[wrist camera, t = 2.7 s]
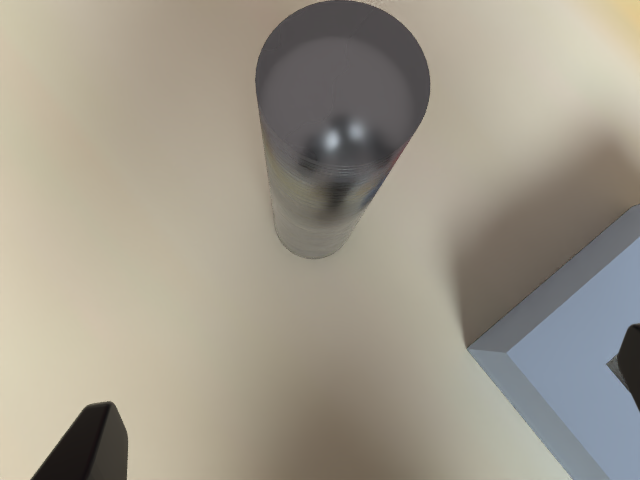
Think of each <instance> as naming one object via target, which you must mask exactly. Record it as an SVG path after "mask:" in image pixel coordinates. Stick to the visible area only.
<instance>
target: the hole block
mask: <svg viewBox="0 0 640 480" xmlns="http://www.w3.org/2000/svg"><path fill="white" fill-rule="evenodd" d="M636 323H640V204H638V205H635V206H633V207H631V208H630V209H629V210H628V211H626V212H625V213H624V214H623V215H622V216H621V217H619V218H618V219H617V220H616V221H615V222H614V223H612V224H611V225H610V226H609V227H608V228H607V229H605V230H604V231H603V232H602V233H601V234H600V235H598V236H597V237H596V238H595V239H594V240H593V241H591V242H590V243H589V244H588V245H587V246H586V247H584V248H583V249H582V250H581V251H580V252H579V253H577V254H576V255H575V256H574V257H573V258H572V259H570V260H569V261H568V262H567V263H566V264H565V265H563V266H562V267H561V268H560V269H559V270H558V271H556V272H555V273H554V274H553V275H552V276H551V277H549V278H548V279H547V280H546V281H545V282H544V283H542V284H541V285H540V286H539V287H538V288H537V289H535V290H534V291H533V292H532V293H531V294H530V295H528V296H527V297H526V298H525V299H524V300H523V301H521V302H520V303H519V304H518V305H517V306H516V307H514V308H513V309H512V310H511V311H510V312H509V313H507V314H506V315H505V316H504V317H503V318H502V319H501V320H499V321H498V322H497V323H496V324H495V325H494V326H492V327H491V328H490V329H489V330H488V331H487V332H485V333H484V334H483V335H482V336H481V337H480V338H478V339H477V340H476V341H475V342H474V343H473V344H471V345H470V346H469V347H468V348H467V350H468V351H469V352H470V354H471V355H472V356H473V357H474V359H475V360H476V361H477V362H478V363H479V365H480V366H481V367H482V368H483V370H484V371H485V372H486V373H487V375H488V376H489V377H490V378H491V379H492V381H493V382H494V383H495V384H496V386H497V387H498V388H499V389H500V390H501V392H502V393H503V394H504V395H505V397H506V398H507V399H508V400H509V401H510V403H511V404H512V405H513V406H514V408H515V409H516V410H517V411H518V413H519V414H520V415H521V416H522V417H523V419H524V420H525V421H526V422H527V424H528V425H529V426H530V427H531V428H532V430H533V431H534V432H535V433H536V435H537V436H538V437H539V438H540V439H541V441H542V442H543V443H544V444H545V446H546V447H547V448H548V449H549V451H550V452H551V453H552V454H553V455H554V457H555V458H556V459H557V460H558V462H559V463H560V464H561V465H562V466H563V468H564V469H565V470H566V471H567V473H568V474H569V475H570V476H571V477H572V479H573V480H640V412H639V410H638V408H637V406H636V404H635V402H634V399H633V397H632V395H631V393H630V392H629V391H628V390H627V389H626V387H625V386H624V385H623V384H622V383H621V382H620V380H619V379H618V378H617V377H616V376H615V374H614V373H613V372H612V371H611V370H610V368H609V367H608V366H607V365H606V364H607V363H608V362H609V361H610V360H611V359H612V358H613V357H614V356H615V355H616V354H618V352H619V349H620V347H621V344H622V341H623V339H624V336H625V333H626V331H627V329H628V327H629V326H630V325H632V324H636Z"/></svg>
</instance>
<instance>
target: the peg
mask: <svg viewBox="0 0 640 480" xmlns="http://www.w3.org/2000/svg"><path fill="white" fill-rule="evenodd" d="M255 83H256V94H257V101H258V108H259V115H260V122H261V130H262V137H263V144H264V151H265V158H266V165H267V172H268V179H269V186H270V193H271V200H272V207H273V214H274V221H275V228H276V232H277V235H278V237H279V239H280V241H281V242H282V243H283V245H284V246H285V247H286V248H287V249H288V250H289V251H291V252H292V253H294V254H296V255H298V256H300V257H303V258H309V259H318V258H323V257H327V256H329V255H331V254H333V253H335V252H336V251H337V250H339V249H340V248H341V247H342V246H343V244H344V243H345V242H346V240H347V238H348V237H349V235H350V234H351V232H352V231H353V229H354V227H355V226H356V224H357V223H358V221H359V219H360V218H361V216H362V215H363V213H364V212H365V210H366V208H367V207H368V205H369V204H370V202H371V201H372V199H373V197H374V196H375V194H376V193H377V191H378V189H379V188H380V186H381V185H382V183H383V182H384V180H385V178H386V177H387V175H388V174H389V172H390V171H391V169H392V167H393V166H394V164H395V163H396V161H397V159H398V158H399V156H400V155H401V153H402V152H403V150H404V148H405V147H406V145H407V144H408V142H409V141H410V139H411V137H412V136H413V134H414V133H415V131H416V129H417V128H418V126H419V125H420V123H421V121H422V119H423V117H424V115H425V112H426V109H427V106H428V102H429V95H430V76H429V69H428V65H427V61H426V59H425V56H424V54H423V51H422V49H421V47H420V46H419V44H418V42H417V40H416V39H415V38H414V36H413V35H412V34H411V32H410V31H409V30H408V29H407V28H406V27H405V26H404V25H403V24H402V23H401V22H399V21H398V20H397V19H396V18H394V17H393V16H391V15H390V14H388V13H386V12H385V11H383V10H381V9H379V8H376V7H374V6H371V5H368V4H365V3H361V2H356V1H348V0H331V1H325V2H319V3H316V4H312V5H309V6H307V7H304V8H302V9H300V10H298V11H296V12H295V13H293V14H291V15H290V16H288V17H287V18H286V19H285V20H283V21H282V22H281V23H280V24H279V25H278V26H277V27H276V28H275V29H274V30H273V32H272V33H271V34H270V36H269V37H268V39H267V40H266V42H265V44H264V46H263V48H262V50H261V53H260V56H259V58H258V63H257V68H256V78H255Z"/></svg>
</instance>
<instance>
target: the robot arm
mask: <svg viewBox="0 0 640 480" xmlns="http://www.w3.org/2000/svg"><path fill="white" fill-rule="evenodd" d="M617 361H618V366H619V369H620V372H621V374H622V376H623V378H624V380H625V382H626V384H627V387H628V389H629V391H630V393H631V395H632V397H633V399H634V402H635V404H636V406H637V408H638V410H639V412H640V323H636V324H632V325H630V326H629V327H628V329H627V331H626V333H625V336H624V339H623V341H622V344H621V347H620V349H619V352H618V356H617ZM127 460H128V435H127V431H126V428H125V426H124V424H123V421H122V419H121V417H120V414H119V412H118V410H117V408H116V406H115V404H114V403H113V402H111V401H107V402H100V403H93V404H89V405H87V406H86V407H85V408H84V409H83V410H82V412H81V413H80V414H79V416H78V417H77V418H76V420H75V421H74V422H73V424H72V425H71V426H70V428H69V429H68V430H67V432H66V433H65V434H64V436H63V437H62V438H61V440H60V441H59V442H58V444H57V445H56V446H55V448H54V449H53V450H52V452H51V453H50V454H49V456H48V457H47V458H46V460H45V461H44V462H43V464H42V465H41V466H40V468H39V469H38V470H37V472H36V473H35V474H34V476H33V477H32V478H31V480H127Z"/></svg>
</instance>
